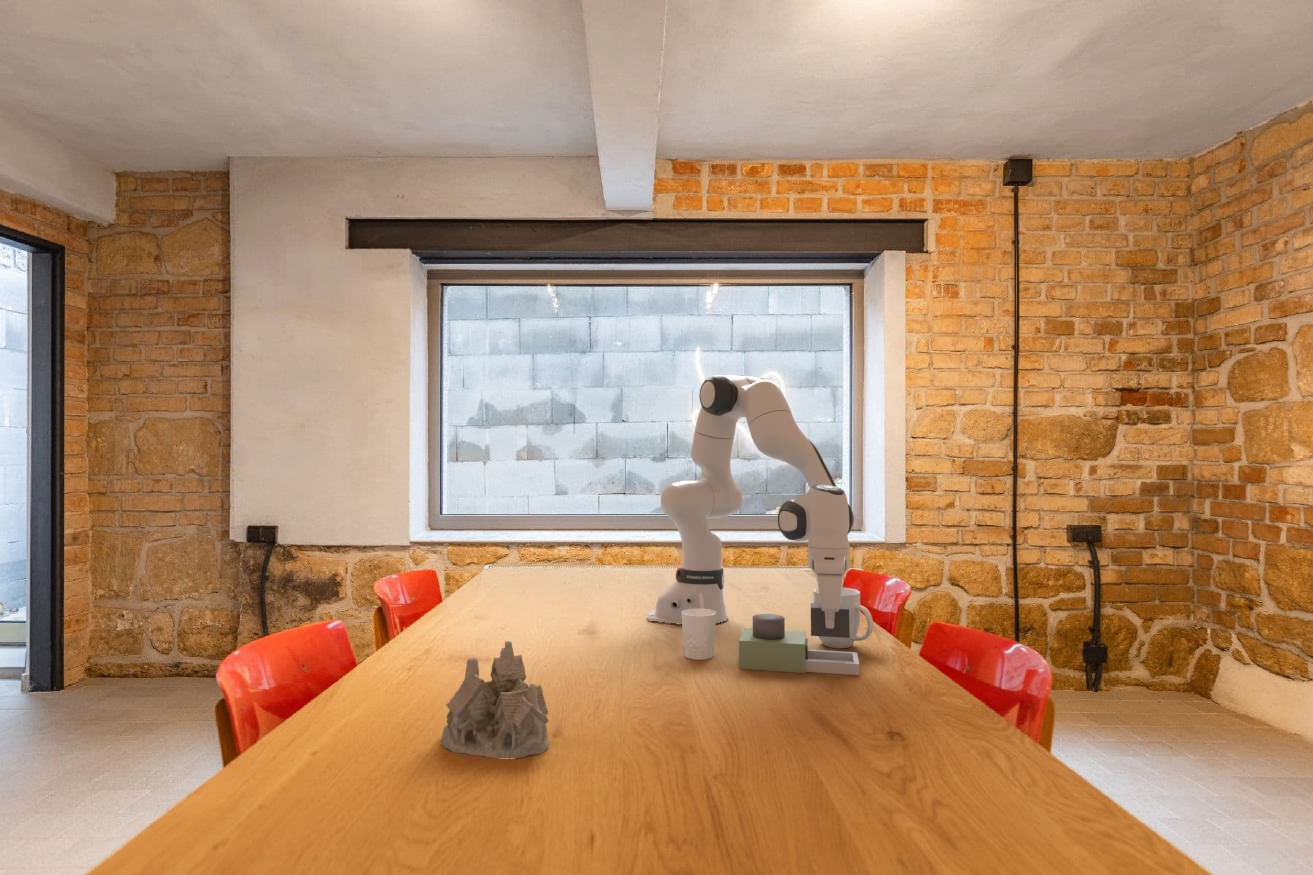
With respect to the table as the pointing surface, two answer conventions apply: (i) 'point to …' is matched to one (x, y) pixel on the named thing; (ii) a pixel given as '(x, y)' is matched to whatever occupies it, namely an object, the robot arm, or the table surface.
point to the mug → (853, 601)
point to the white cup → (698, 633)
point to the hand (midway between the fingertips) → (829, 624)
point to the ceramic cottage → (497, 712)
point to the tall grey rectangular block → (839, 622)
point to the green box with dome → (788, 650)
